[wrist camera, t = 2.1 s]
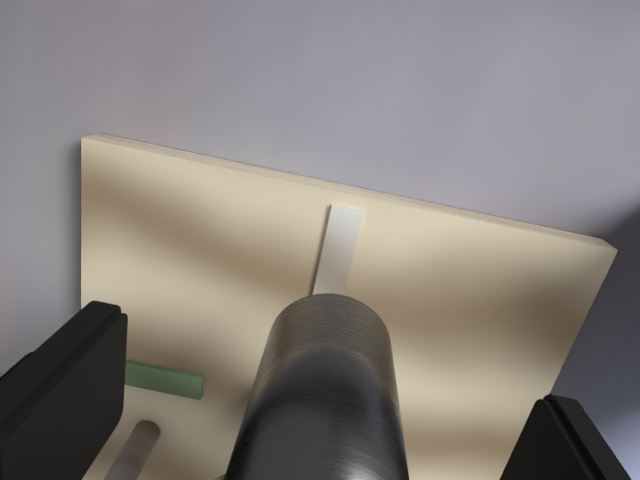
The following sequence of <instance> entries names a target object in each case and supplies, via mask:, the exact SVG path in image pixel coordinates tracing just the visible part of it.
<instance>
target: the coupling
mask: <svg viewBox="0 0 640 480" xmlns="http://www.w3.org/2000/svg"><path fill="white" fill-rule="evenodd" d="M214 480H409V472H408V465H407V457H406V450H405V443H404V435H403V428H402V421H401V413H400V406H399V398H398V391H397V384H396V376H395V369H394V362H393V354H392V347H391V340H390V336H389V332H388V330H387V327H386V325H385V324H384V322H383V320H382V319H381V318H380V317H379V315H378V314H377V313H376V312H375V311H374V310H373V309H371V308H370V307H369V306H367V305H366V304H364V303H362V302H361V301H359V300H357V299H354V298H352V297H349V296H345V295H340V294H334V293H322V294H314V295H310V296H306V297H303V298H301V299H299V300H297V301H294V302H293V303H291V304H290V305H288V306H287V307H286V308H285V309H284V310H282V311H281V313H280V314H279V315H278V316H277V318H276V319H275V321H274V322H273V324H272V327H271V329H270V332H269V335H268V339H267V342H266V345H265V348H264V352H263V355H262V358H261V361H260V364H259V368H258V371H257V374H256V377H255V381H254V384H253V387H252V390H251V393H250V397H249V400H248V403H247V406H246V409H245V413H244V416H243V419H242V422H241V426H240V429H239V432H238V435H237V438H236V442H235V445H234V448H233V451H232V454H231V458H230V461H229V464H228V467H227V471H226V474H224V475H221V476H220V477H218V478H216V479H214Z"/></svg>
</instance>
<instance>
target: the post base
mask: <svg viewBox="0 0 640 480" xmlns="http://www.w3.org/2000/svg"><path fill="white" fill-rule="evenodd" d="M617 252H618V250H617V249H616V248H614V247H613V246H611V245H610V244H609V243H607V242H606V241H604V240H603V239H601V238H596V237H592V236H587V235H582V234H577V233H573V232H568V231H563V230H558V229H553V228H549V227H544V226H539V225H534V224H530V223H525V222H520V221H515V220H511V219H506V218H501V217H496V216H492V215H487V214H482V213H477V212H473V211H468V210H463V209H458V208H454V207H449V206H444V205H439V204H434V203H430V202H425V201H420V200H415V199H411V198H406V197H401V196H396V195H392V194H387V193H382V192H377V191H373V190H368V189H363V188H358V187H354V186H349V185H344V184H339V183H334V182H330V181H325V180H320V179H315V178H311V177H306V176H301V175H296V174H292V173H287V172H282V171H277V170H273V169H268V168H263V167H258V166H254V165H249V164H244V163H239V162H234V161H230V160H225V159H220V158H215V157H211V156H206V155H201V154H196V153H192V152H187V151H182V150H177V149H173V148H168V147H163V146H158V145H154V144H149V143H144V142H139V141H135V140H130V139H125V138H120V137H115V136H111V135H106V134H101V133H96V134H93V135H89V136H85V137H82V138H81V309H82V308H84V307H85V306H86V305H87V304H88V303H89V302H91V301H94V300H95V301H100V302H105V303H110V304H115V305H119V306H120V308H121V313H126V314H127V316H128V328H127V348H126V368H125V387H124V407H123V413H122V416H121V419H120V421H119V423H118V425H117V427H116V428H115V430H114V431H113V433H112V434H111V436H110V437H109V439H108V440H107V442H106V443H105V445H104V446H103V448H102V450H101V451H100V453H99V454H98V456H97V457H96V459H95V460H94V462H93V463H92V465H91V466H90V468H89V469H88V471H87V472H86V474H85V475H84V477H83V478H82V480H214V479H216V478H218V477H220V476H221V475H224V474H226V471H227V467H228V464H229V461H230V458H231V454H232V451H233V448H234V445H235V442H236V438H237V435H238V432H239V429H240V426H241V422H242V419H243V416H244V413H245V409H246V406H247V403H248V400H249V397H250V393H251V390H252V387H253V384H254V381H255V377H256V374H257V371H258V368H259V364H260V361H261V358H262V355H263V352H264V348H265V345H266V342H267V339H268V335H269V332H270V329H271V327H272V324H273V322H274V321H275V319H276V318H277V316H278V315H279V314H280V313H281V311H282V310H284V309H285V308H286V307H287V306H288V305H290V304H291V303H293V302H294V301H297V300H299V299H301V298H303V297H306V296H310V295H314V294H322V293H334V294H340V295H345V296H349V297H352V298H354V299H357V300H359V301H361V302H362V303H364V304H366V305H367V306H369V307H370V308H371V309H373V310H374V311H375V312H376V313H377V314H378V315H379V317H380V318H381V319H382V320H383V322H384V324H385V325H386V327H387V330H388V332H389V336H390V340H391V347H392V354H393V362H394V369H395V376H396V384H397V391H398V398H399V406H400V413H401V421H402V428H403V435H404V443H405V450H406V457H407V465H408V472H409V480H499V479H500V477H501V475H502V473H503V471H504V469H505V466H506V464H507V462H508V460H509V458H510V456H511V453H512V451H513V449H514V447H515V445H516V443H517V440H518V438H519V436H520V434H521V432H522V429H523V427H524V425H525V423H526V421H527V419H528V416H529V414H530V412H531V410H532V408H533V406H534V404H535V402H536V401H537V400H538V399H543V398H544V397H545V396H546V395H548V394H549V393H550V391H551V389H552V387H553V385H554V383H555V381H556V379H557V377H558V375H559V373H560V370H561V368H562V366H563V364H564V362H565V360H566V358H567V356H568V354H569V352H570V350H571V348H572V346H573V343H574V341H575V339H576V337H577V335H578V333H579V331H580V329H581V327H582V325H583V323H584V321H585V318H586V316H587V314H588V312H589V310H590V308H591V306H592V304H593V302H594V300H595V298H596V296H597V293H598V291H599V289H600V287H601V285H602V283H603V281H604V279H605V277H606V275H607V273H608V271H609V269H610V266H611V264H612V262H613V260H614V258H615V256H616V254H617Z"/></svg>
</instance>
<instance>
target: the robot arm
mask: <svg viewBox="0 0 640 480" xmlns="http://www.w3.org/2000/svg"><path fill="white" fill-rule="evenodd" d="M127 328H128V316H127V314H126V313H121V308H120V306H119V305H115V304H110V303H105V302H100V301H95V300H94V301H91V302H89V303H88V304H87V305H86V306H85V307H84V308H82V309H81V310H80V311H79V312H78V313H77V314H76V315H75V316H73V317H72V318H71V319H70V320H69V321H68V322H67V323H66V324H64V325H63V326H62V327H61V328H60V329H59V330H58V331H57V332H55V333H54V334H53V335H52V336H51V337H50V338H49V339H48V340H47V341H45V342H44V343H43V344H42V345H41V346H40V347H39V348H38V349H36V350H35V351H34V352H30V353H29V354H27V355H26V356H24V357H23V358H22V359H21V360H20V361H19V362H17V363H16V364H15V365H14V366H13V367H12V368H11V369H9V370H8V371H7V372H6V373H5V374H4V375H3V376H2V377H0V480H82V478H83V477H84V475H85V474H86V472H87V471H88V469H89V468H90V466H91V465H92V463H93V462H94V460H95V459H96V457H97V456H98V454H99V453H100V451H101V450H102V448H103V446H104V445H105V443H106V442H107V440H108V439H109V437H110V436H111V434H112V433H113V431H114V430H115V428H116V427H117V425H118V423H119V421H120V419H121V416H122V413H123V407H124V387H125V368H126V348H127ZM499 480H631V478H630V477H629V475H628V474H627V472H626V471H625V469H624V468H623V466H622V465H621V463H620V462H619V460H618V459H617V458H616V456H615V455H614V453H613V452H612V450H611V449H610V447H609V446H608V444H607V443H606V441H605V440H604V439H603V437H602V436H601V434H600V433H599V431H598V430H597V428H596V427H595V425H594V424H593V422H592V421H591V419H590V418H589V417H588V415H587V414H586V412H585V411H584V409H583V408H582V406H581V405H580V403H579V402H578V401H577V400H574V399H571V398H566V397H561V396H556V395H552V394H548V395H546V396H545V397H544V398H543V399H538V400H537V401H536V402H535V404H534V406H533V408H532V410H531V412H530V414H529V416H528V419H527V421H526V423H525V425H524V427H523V429H522V432H521V434H520V436H519V438H518V440H517V443H516V445H515V447H514V449H513V451H512V453H511V456H510V458H509V460H508V462H507V464H506V466H505V469H504V471H503V473H502V475H501V477H500V479H499Z"/></svg>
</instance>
